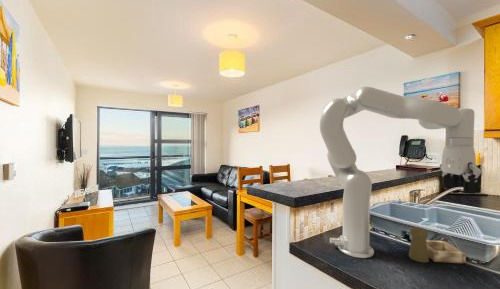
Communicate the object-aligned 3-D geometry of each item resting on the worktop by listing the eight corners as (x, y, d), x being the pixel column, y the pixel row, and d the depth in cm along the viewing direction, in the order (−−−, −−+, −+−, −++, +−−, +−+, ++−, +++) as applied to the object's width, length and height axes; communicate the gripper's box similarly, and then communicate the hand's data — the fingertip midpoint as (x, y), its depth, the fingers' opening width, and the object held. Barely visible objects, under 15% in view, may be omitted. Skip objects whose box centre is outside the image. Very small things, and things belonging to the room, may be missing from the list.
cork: (432, 263, 79) (433, 232, 78) (413, 261, 80) (413, 230, 80) (423, 254, 85) (423, 225, 84) (405, 253, 86) (405, 224, 86)
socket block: (434, 261, 80) (434, 251, 80) (417, 248, 90) (417, 239, 90) (465, 263, 78) (465, 253, 78) (444, 249, 88) (444, 241, 88)
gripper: (431, 142, 91) (430, 185, 91) (467, 143, 73) (466, 195, 74) (452, 143, 90) (450, 185, 90) (493, 143, 72) (491, 196, 73)
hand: (457, 189), depth 82 cm, fingers open, 9 cm apart
